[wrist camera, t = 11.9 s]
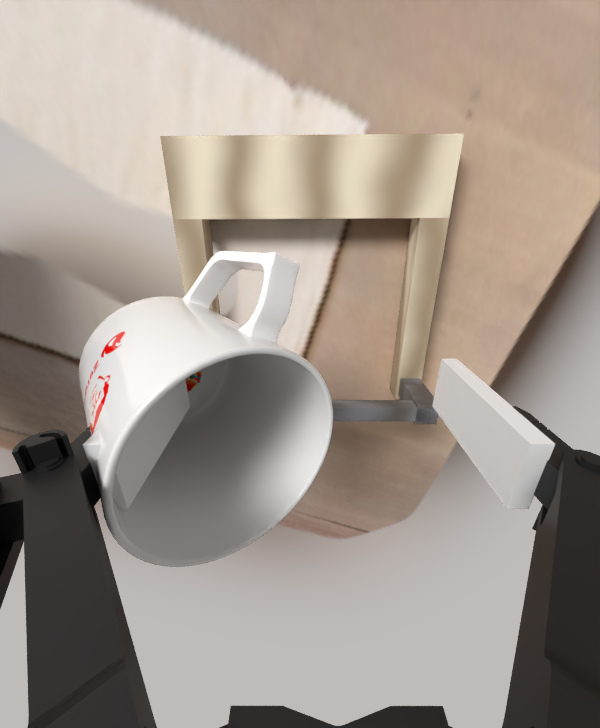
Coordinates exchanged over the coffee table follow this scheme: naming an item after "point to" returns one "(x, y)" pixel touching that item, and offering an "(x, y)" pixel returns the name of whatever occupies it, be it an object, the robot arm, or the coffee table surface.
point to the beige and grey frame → (328, 201)
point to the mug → (207, 415)
